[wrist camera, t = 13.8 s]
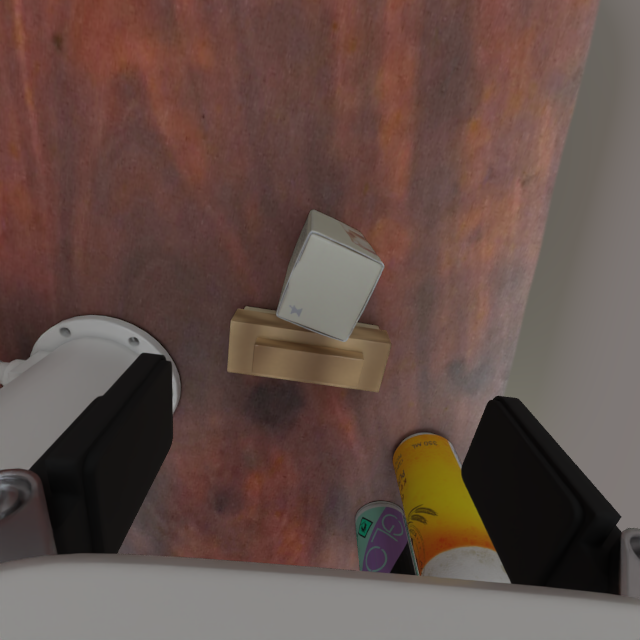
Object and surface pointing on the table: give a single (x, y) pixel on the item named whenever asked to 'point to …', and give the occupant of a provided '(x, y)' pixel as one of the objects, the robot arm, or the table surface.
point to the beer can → (443, 513)
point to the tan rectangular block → (306, 352)
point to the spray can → (384, 539)
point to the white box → (329, 278)
